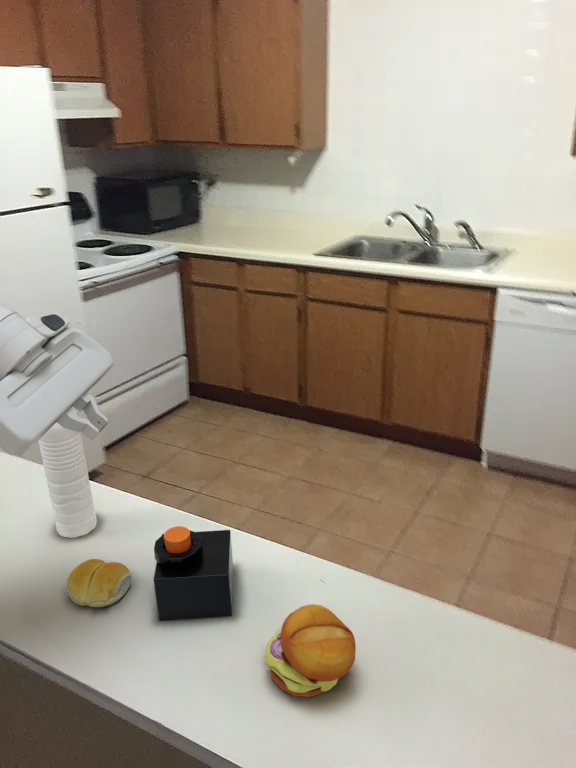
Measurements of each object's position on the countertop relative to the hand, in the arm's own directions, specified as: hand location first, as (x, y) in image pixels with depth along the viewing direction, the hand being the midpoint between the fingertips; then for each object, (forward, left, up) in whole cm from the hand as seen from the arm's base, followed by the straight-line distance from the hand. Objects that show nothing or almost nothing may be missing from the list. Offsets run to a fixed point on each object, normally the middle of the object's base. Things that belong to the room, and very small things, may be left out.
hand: (101, 430), depth 82 cm
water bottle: (-9, +22, -29) cm, 37 cm away
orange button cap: (+8, +1, -20) cm, 21 cm away
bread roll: (-5, +5, -29) cm, 29 cm away
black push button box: (+9, +1, -28) cm, 30 cm away
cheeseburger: (+22, -16, -29) cm, 40 cm away
